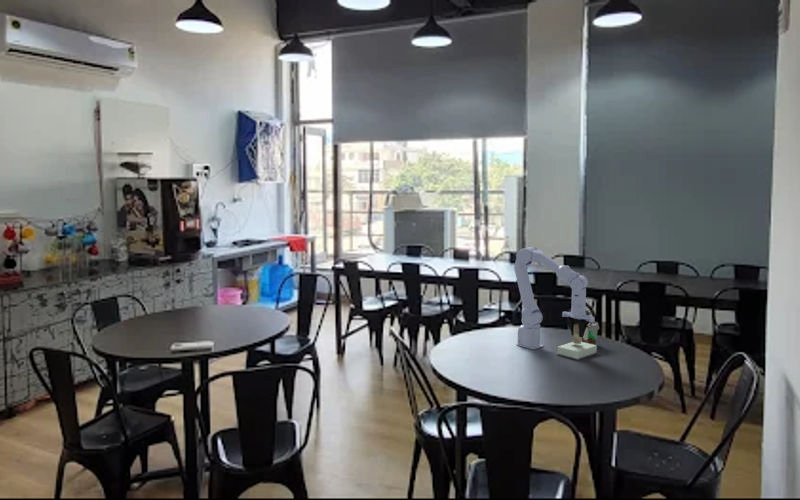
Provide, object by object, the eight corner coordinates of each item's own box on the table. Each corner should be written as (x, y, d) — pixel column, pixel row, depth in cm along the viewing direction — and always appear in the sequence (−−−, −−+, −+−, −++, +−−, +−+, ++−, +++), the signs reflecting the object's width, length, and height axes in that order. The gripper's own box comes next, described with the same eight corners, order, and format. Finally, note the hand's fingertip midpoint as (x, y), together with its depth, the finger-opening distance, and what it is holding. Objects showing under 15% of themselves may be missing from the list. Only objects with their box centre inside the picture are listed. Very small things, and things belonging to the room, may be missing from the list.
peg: (571, 342, 268) (572, 324, 267) (576, 341, 270) (576, 323, 269) (577, 344, 265) (578, 325, 264) (582, 342, 267) (583, 324, 266)
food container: (602, 348, 276) (603, 326, 275) (588, 348, 276) (588, 326, 275) (594, 341, 288) (594, 319, 287) (580, 341, 288) (581, 319, 287)
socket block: (557, 354, 268) (557, 346, 267) (576, 348, 277) (576, 340, 276) (577, 359, 260) (577, 351, 260) (596, 353, 269) (596, 345, 269)
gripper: (558, 303, 268) (557, 334, 270) (588, 308, 257) (587, 341, 259) (568, 300, 273) (567, 331, 275) (597, 306, 262) (596, 338, 264)
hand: (577, 335), depth 267 cm, fingers closed on peg, 3 cm apart
